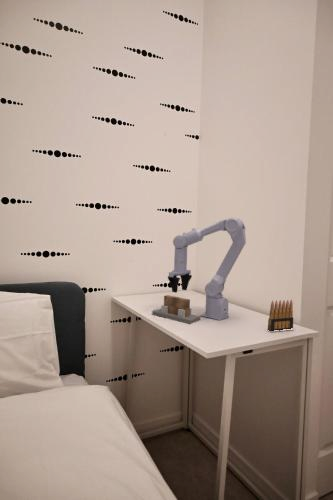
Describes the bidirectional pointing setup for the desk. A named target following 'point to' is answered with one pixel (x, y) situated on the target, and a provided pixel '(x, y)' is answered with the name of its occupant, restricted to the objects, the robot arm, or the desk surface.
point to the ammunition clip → (280, 316)
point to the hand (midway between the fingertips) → (179, 291)
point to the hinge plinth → (180, 317)
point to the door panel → (177, 304)
